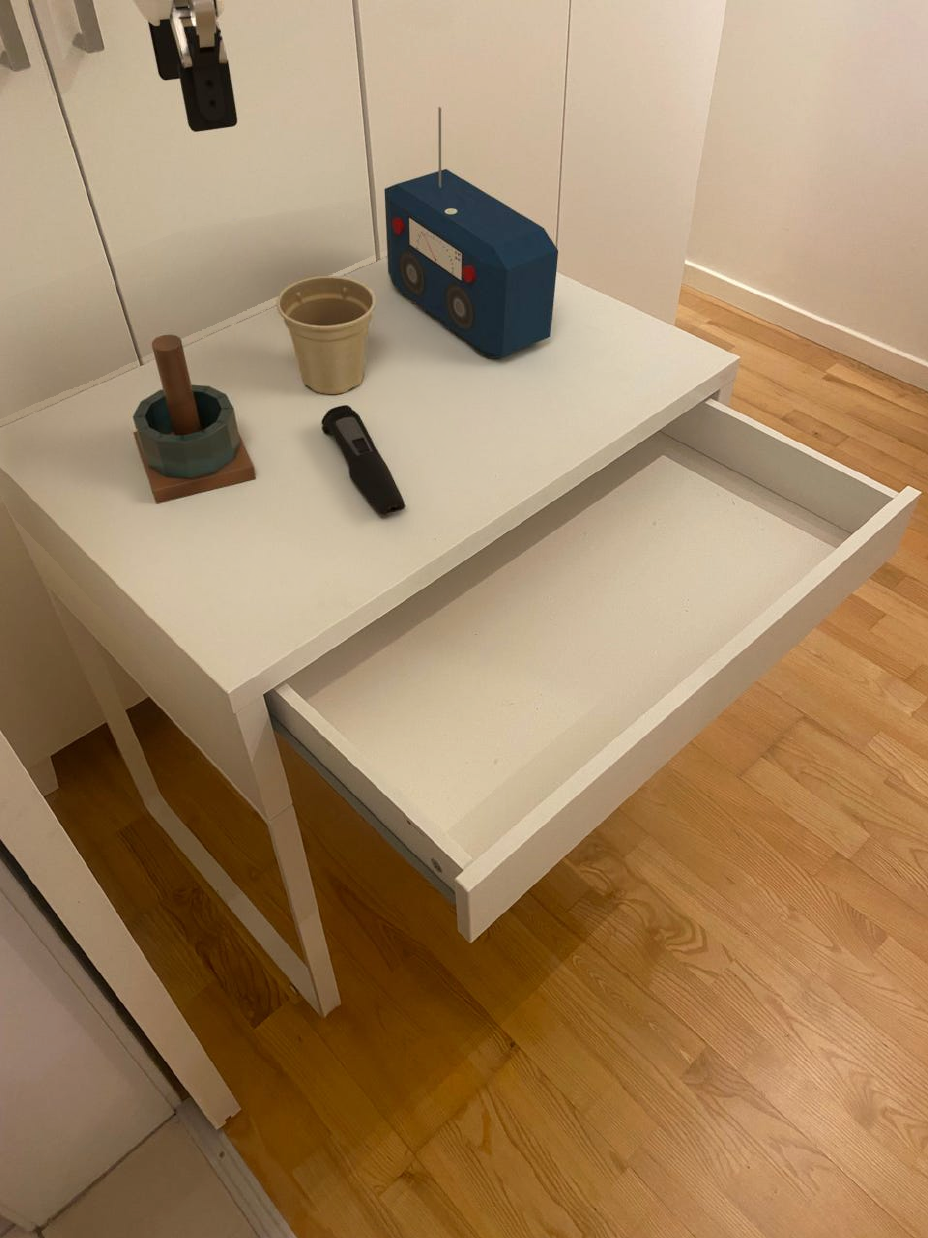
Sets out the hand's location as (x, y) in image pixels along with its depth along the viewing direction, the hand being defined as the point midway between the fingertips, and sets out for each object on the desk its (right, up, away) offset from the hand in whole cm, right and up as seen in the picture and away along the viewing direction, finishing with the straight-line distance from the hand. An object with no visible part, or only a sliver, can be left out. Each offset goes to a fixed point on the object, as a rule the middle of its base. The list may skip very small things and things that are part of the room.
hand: (197, 100), depth 67 cm
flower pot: (+6, -12, +30) cm, 33 cm away
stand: (-6, -22, +21) cm, 31 cm away
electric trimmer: (+10, -23, +21) cm, 32 cm away
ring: (-6, -21, +20) cm, 29 cm away
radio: (+19, -3, +39) cm, 43 cm away
